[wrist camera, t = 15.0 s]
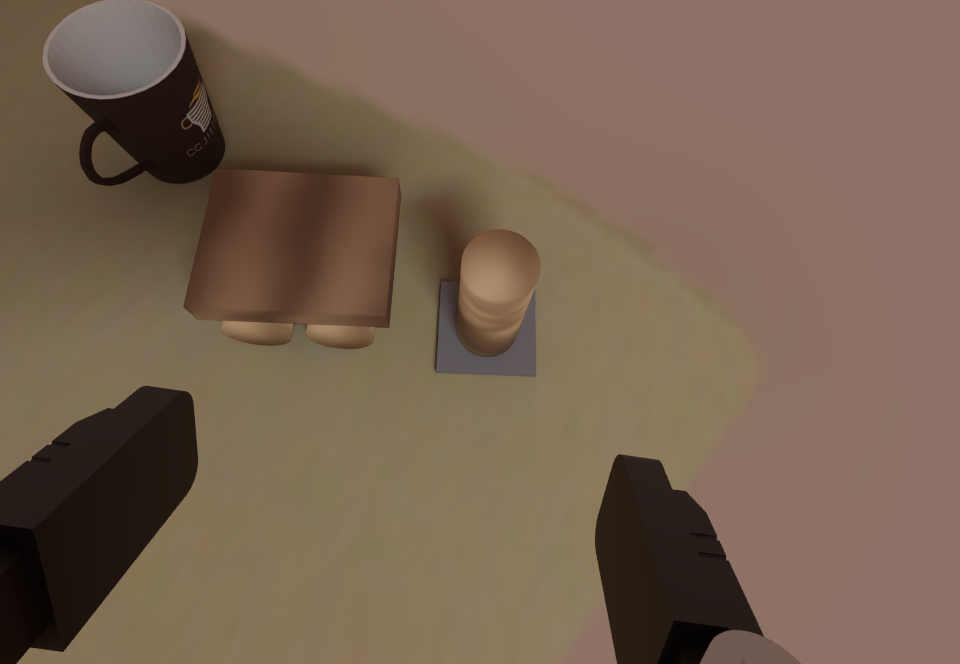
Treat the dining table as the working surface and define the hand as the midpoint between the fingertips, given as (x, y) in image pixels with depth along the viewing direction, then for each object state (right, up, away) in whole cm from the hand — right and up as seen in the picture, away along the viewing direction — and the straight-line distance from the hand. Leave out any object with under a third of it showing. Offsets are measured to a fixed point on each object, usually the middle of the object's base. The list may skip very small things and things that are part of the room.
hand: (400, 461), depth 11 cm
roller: (+2, +3, +30) cm, 30 cm away
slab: (-10, +6, +31) cm, 33 cm away
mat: (+2, +3, +30) cm, 30 cm away
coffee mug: (-23, +16, +34) cm, 44 cm away
